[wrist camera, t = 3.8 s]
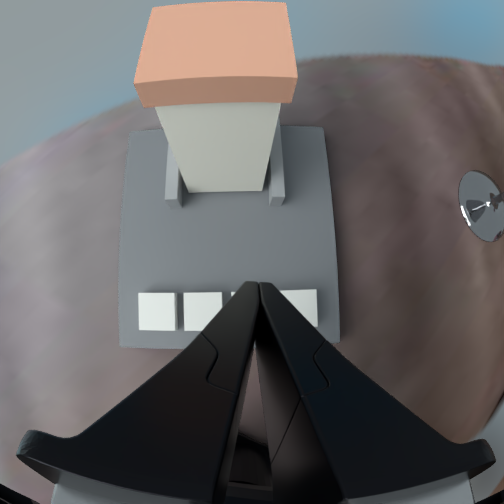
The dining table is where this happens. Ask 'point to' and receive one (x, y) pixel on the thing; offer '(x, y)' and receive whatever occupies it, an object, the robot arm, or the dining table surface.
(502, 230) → the wine glass
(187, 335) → the keyboard deck
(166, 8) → the key
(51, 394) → the dining table surface
